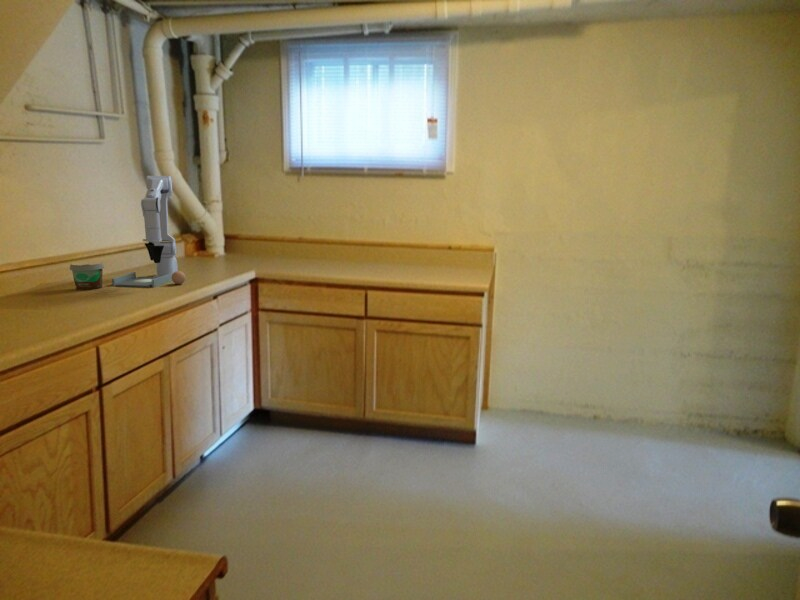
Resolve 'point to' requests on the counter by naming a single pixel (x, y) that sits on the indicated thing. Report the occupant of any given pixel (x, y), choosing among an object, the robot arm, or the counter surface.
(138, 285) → the mat
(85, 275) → the food container
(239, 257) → the counter surface
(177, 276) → the ball
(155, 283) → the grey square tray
